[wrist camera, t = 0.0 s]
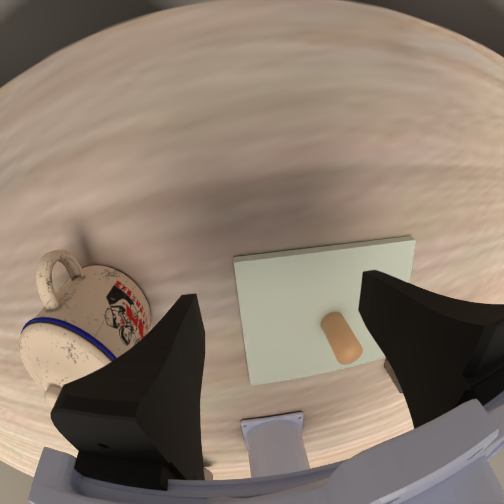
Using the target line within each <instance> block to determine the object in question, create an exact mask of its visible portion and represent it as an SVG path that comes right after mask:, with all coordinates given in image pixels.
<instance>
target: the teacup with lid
mask: <svg viewBox="0 0 504 504" xmlns="http://www.w3.org/2000/svg"><path fill="white" fill-rule="evenodd" d="M57 261H59V262H61V263H62V264H63V265H64V266H65V267H66V269H67V271H68V273H69V275H70V277H71V278H70V279H69V280H68V281H67V282H66V283H65V284H64V285H63V286H62V287H61V289H60V290H59V291H58V292H57V293H56V294H55V292H54V289H53V285H52V268H53V266H54V264H55V263H56V262H57ZM36 283H37V288H38V292H39V295H40V298H41V300H42V302H43V304H44V306H45V307H44V308H43V309H42V310H41V311H40V313H39V314H38V315H37V316H36V317H35V318H34V319H32V320H30V321H29V322H27V323H26V324H25V326H24V327H23V329H22V332H21V336H20V341H19V348H20V354H21V358H22V361H23V363H24V365H25V367H26V369H27V371H28V372H29V374H30V375H31V377H32V378H33V379H34V380H35V382H36V383H37V384H38V385H39V386H40V387H41V388H42V389H43V390H44V391H45V400H46V402H47V403H48V405H49V406H50V407H52V408H53V407H54V404H55V402H56V400H57V398H58V396H59V393H60V391H61V389H62V387H63V385H64V384H67V383H70V382H72V381H74V380H77V379H79V378H82V377H84V376H86V375H88V374H90V373H92V372H94V371H96V370H98V369H100V368H102V367H104V366H105V365H107V364H109V363H110V362H112V361H113V360H115V359H116V358H118V357H119V356H121V355H122V354H124V353H125V352H126V351H128V350H129V349H130V348H132V347H133V346H134V345H135V344H137V343H138V342H139V341H140V340H141V339H142V338H143V337H145V336H146V335H147V333H148V330H149V327H150V322H151V313H150V308H149V305H148V302H147V300H146V298H145V296H144V294H143V293H142V291H141V290H140V288H139V287H138V286H137V285H136V284H135V283H134V282H133V281H132V280H131V279H130V278H128V277H127V276H126V275H124V274H123V273H121V272H119V271H117V270H115V269H112V268H109V267H106V266H99V265H94V266H88V267H84V268H81V266H80V264H79V262H78V260H77V259H76V258H75V257H74V255H72V254H71V253H70V252H68V251H65V250H55V251H51V252H49V253H47V254H45V255H44V256H43V257H42V258H41V260H40V262H39V264H38V267H37V273H36Z"/></svg>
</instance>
